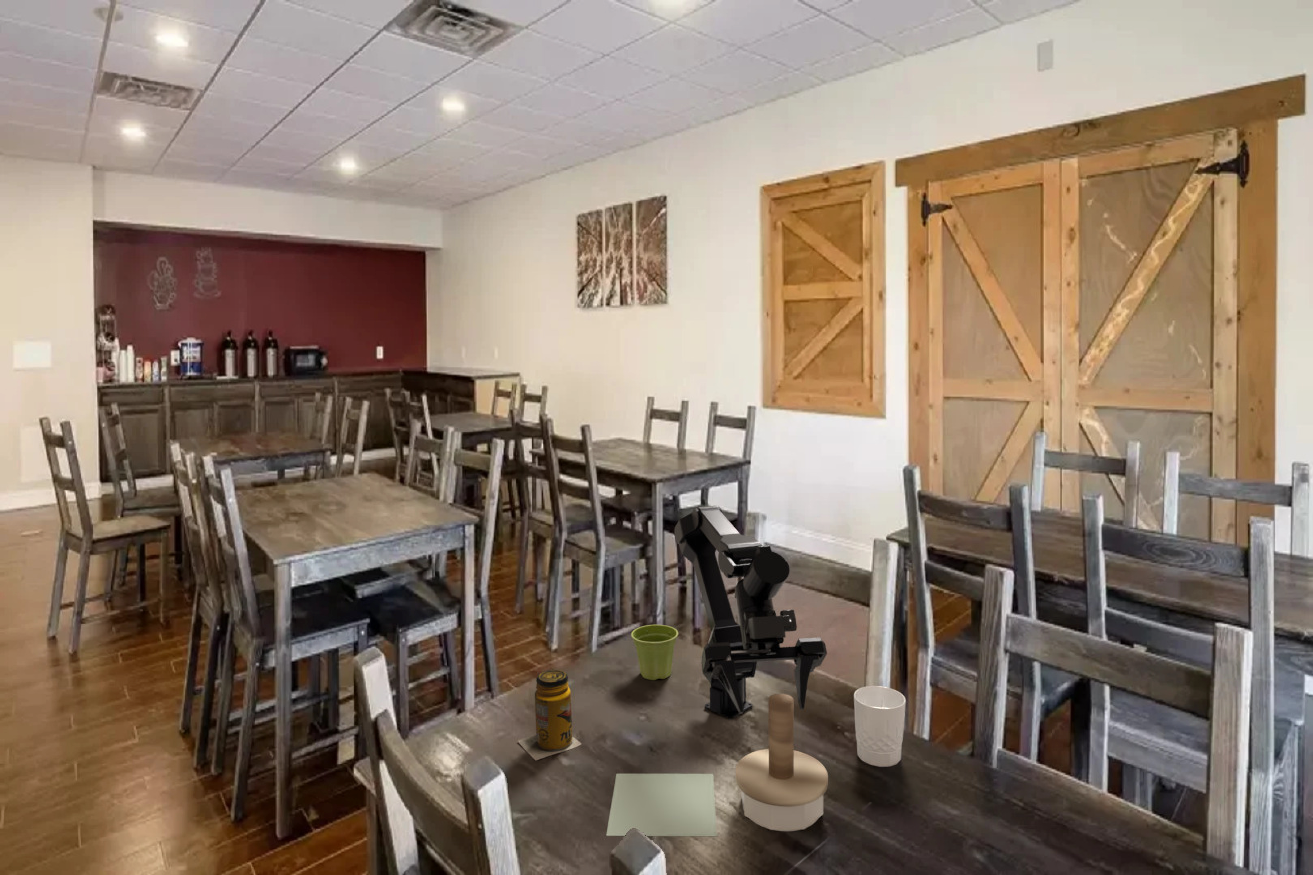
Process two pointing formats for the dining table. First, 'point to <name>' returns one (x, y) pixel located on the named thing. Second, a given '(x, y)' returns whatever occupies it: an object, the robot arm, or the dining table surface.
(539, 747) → the condiment
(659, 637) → the plant pot
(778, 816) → the ceramic bowl
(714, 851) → the dining table surface
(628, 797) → the sage mat
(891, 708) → the white cup
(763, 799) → the birch cover
